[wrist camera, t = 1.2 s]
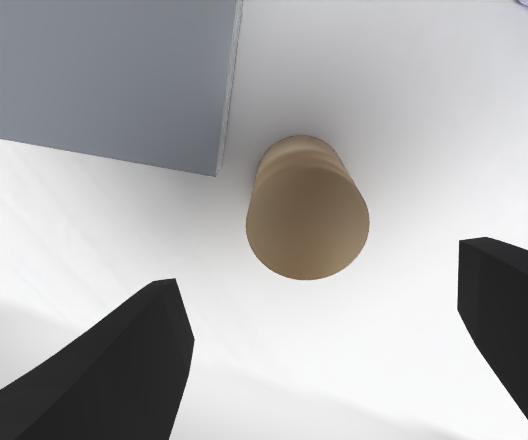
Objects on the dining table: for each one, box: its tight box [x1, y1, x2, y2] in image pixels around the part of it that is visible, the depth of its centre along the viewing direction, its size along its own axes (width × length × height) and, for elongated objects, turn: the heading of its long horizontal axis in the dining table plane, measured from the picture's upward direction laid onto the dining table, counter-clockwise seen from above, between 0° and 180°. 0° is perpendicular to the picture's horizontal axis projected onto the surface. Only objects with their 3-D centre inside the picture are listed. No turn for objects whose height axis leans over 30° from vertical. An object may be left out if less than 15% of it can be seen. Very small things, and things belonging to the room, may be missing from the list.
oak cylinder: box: [246, 136, 369, 280], centre depth 16 cm, size 4×4×6 cm
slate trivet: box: [0, 0, 243, 177], centre depth 16 cm, size 10×10×2 cm
